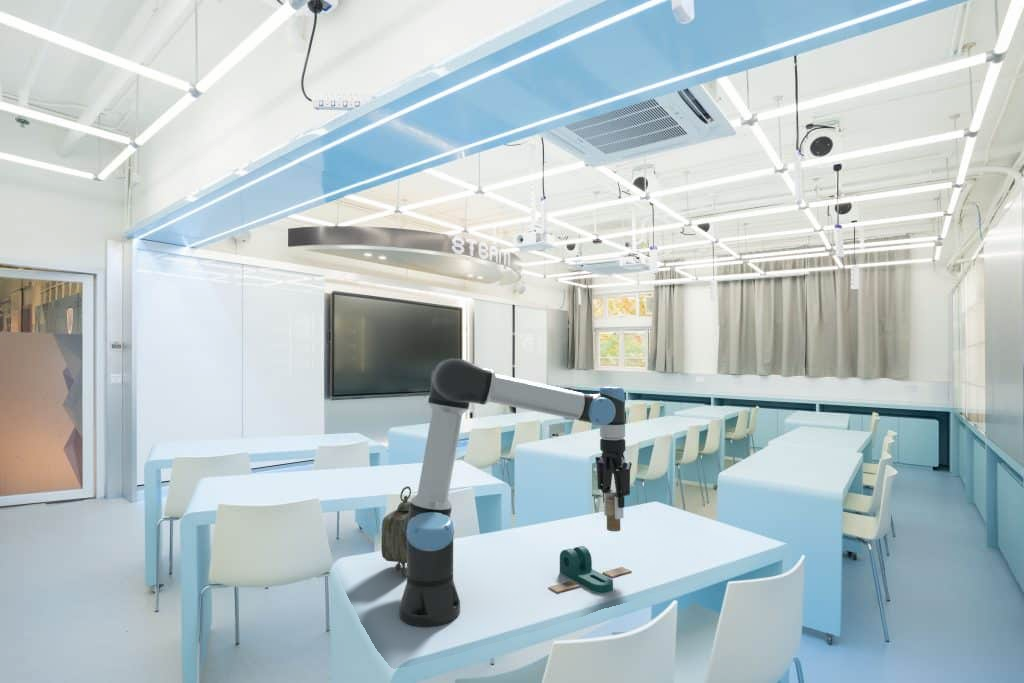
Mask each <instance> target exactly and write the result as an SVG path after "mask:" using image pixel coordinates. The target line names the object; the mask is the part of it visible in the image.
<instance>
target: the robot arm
mask: <svg viewBox="0 0 1024 683" xmlns="http://www.w3.org/2000/svg"><path fill="white" fill-rule="evenodd" d="M427 400H428V401H427V403H428V405H429V406H430V408H431V415H430V422H429V425H428V426H429V428H428V431H427V432H428V433H427V437H426V438H427V439H426V444H425V449H424V455H423V461H422V466H421V472H420V478H419V484H418V489H417V494H416V495H415V496H413V497H412V498H411V499H410V501H409V502H410V508H409V513H408V516H407V519H406V521H405V527H404V530H405V536H406V543H407V563H406V571H407V576H406V584H405V587H404V591H403V593H402V597H401V600H400V603H399V615H398V616H399V619H400V620H401V621H402V622H404V623H405V624H408V625H410V626H411V625H412V626H416V627H426V628H427V627H436V626H441V625H444V624H447V623H450V622H452V621H454V620H455V619H456V618H457V617H458V616H459V615H460V613H461V600H460V598H459V594H458V591H457V587H456V584H455V581H454V536H455V528H454V522H453V519H452V518H451V514H452V507H453V505H452V503H451V502H450V501H449V494H450V488H451V481H452V476H453V470H454V465H455V464H454V463H455V458H456V453H457V452H456V451H457V448H458V440H459V435H460V430H461V424H462V416H463V415H464V414H465V413H466V412H467V411H469V409H470V403H471V404H478V405H482V406H483V405H487V404H488V403H493V404H499V405H501V406H502V405H503V406H508V407H512V408H518V409H523V410H526V411H532V412H537V413H542V414H546V415H551V416H555V417H561V418H563V419H564V420H566V421H567V420H570V421H580V422H584V423H590V424H593V425H597V426H599V436H600V440H599V443H600V444H599V448H600V451H601V452H602V453H601V455H600V456H595V462H596V463H595V464H596V474H597V489H598V490H600V491H601V492H602V502H603V510H604V511H603V516H606V517H607V504H606V499H607V498H609V492H611V491H613V490H612V489H611V488H612V480H613V479H614V485H615V492H616V494H617V495H615V519H620V520H621V519H623V518H624V508H625V497H626V496H630V494H631V468H632V462H631V461H627V460H626V458H625V455H624V452H625V451H626V439H625V437H626V416H625V415H626V398H625V390H624V388H623V387H620V386H603V387H602V386H601V387H600V388H599V391H598V393H593V394H592V393H583V392H579V391H574V390H569V389H566V388H565V389H564V388H561V387H558V386H553V385H552V386H551V385H547V384H544V383H539V382H533V381H529V380H525V379H519V378H515V377H512V376H511V377H510V376H507V375H501V374H497V373H495V372H494V370H493V369H492V368H487V367H484V366H480V365H477V364H475V363H472V362H470V361H467V360H464V359H462V358H447V359H443V360H442V361H440V362H439V363H437V365H436V366H434V368H433V369H432V372H431V375H430V391H429V394H428V399H427Z"/></svg>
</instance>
